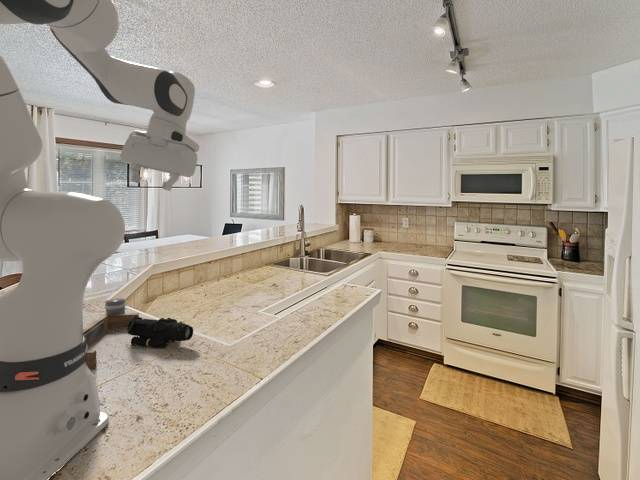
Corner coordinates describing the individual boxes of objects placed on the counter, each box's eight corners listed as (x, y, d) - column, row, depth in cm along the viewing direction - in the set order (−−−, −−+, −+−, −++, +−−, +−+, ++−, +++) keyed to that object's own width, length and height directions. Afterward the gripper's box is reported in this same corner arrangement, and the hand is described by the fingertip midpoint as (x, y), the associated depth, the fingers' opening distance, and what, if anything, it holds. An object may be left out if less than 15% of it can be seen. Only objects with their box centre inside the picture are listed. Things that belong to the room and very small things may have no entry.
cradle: (94, 369, 73) (93, 352, 73) (47, 371, 72) (46, 354, 71) (138, 326, 99) (138, 313, 99) (105, 327, 97) (105, 314, 97)
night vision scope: (191, 355, 86) (171, 344, 78) (133, 348, 90) (109, 337, 82) (201, 327, 91) (183, 313, 83) (146, 321, 95) (124, 307, 86)
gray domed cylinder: (121, 325, 99) (120, 303, 98) (102, 325, 98) (101, 303, 98) (128, 319, 104) (128, 298, 104) (110, 319, 104) (109, 298, 103)
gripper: (122, 124, 85) (107, 174, 84) (192, 138, 81) (177, 190, 81) (139, 134, 91) (125, 181, 90) (205, 147, 88) (191, 196, 87)
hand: (150, 186), depth 85 cm, fingers open, 8 cm apart
